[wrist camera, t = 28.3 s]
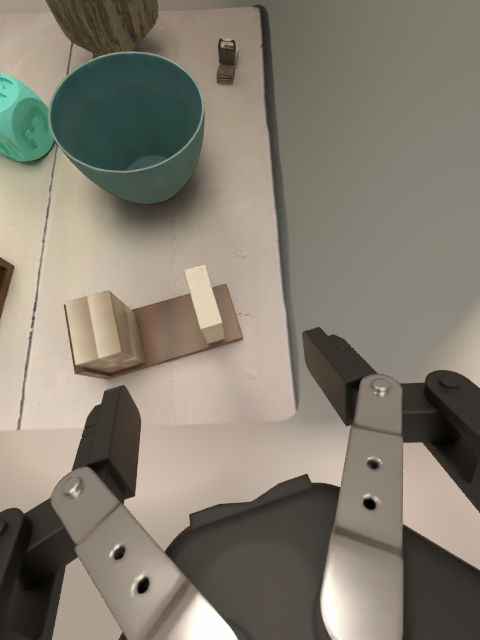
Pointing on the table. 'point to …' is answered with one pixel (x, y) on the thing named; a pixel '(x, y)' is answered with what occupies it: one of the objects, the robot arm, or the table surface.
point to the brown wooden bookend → (4, 280)
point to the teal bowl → (130, 124)
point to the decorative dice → (22, 122)
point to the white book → (205, 304)
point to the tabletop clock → (105, 23)
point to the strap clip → (227, 60)
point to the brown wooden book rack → (139, 332)
